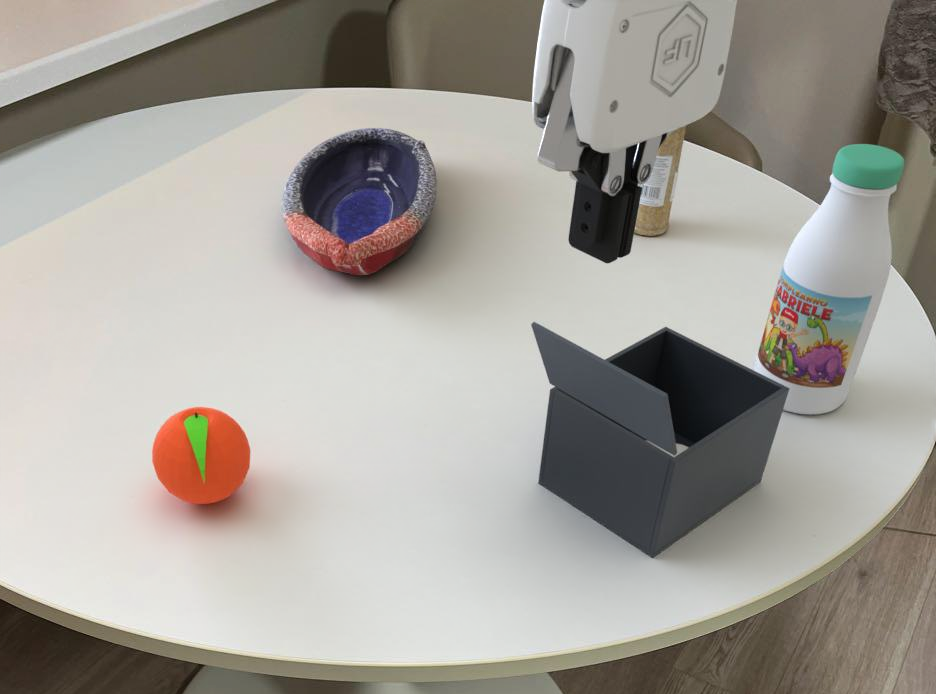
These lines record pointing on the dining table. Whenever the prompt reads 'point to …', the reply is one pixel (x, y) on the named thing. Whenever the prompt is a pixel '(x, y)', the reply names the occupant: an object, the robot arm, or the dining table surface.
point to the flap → (607, 388)
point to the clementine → (201, 455)
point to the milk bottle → (832, 284)
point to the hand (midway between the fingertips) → (598, 250)
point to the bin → (649, 468)
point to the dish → (360, 199)
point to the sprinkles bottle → (660, 187)
